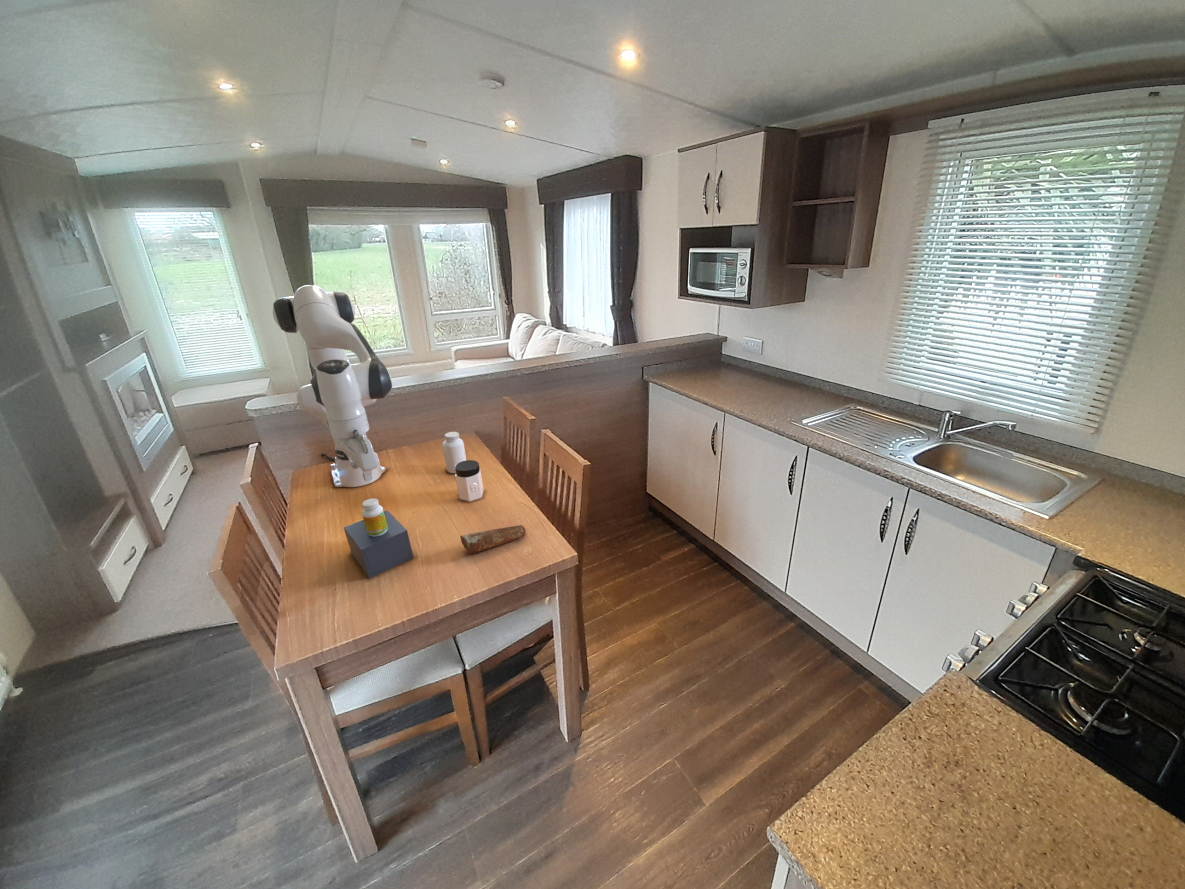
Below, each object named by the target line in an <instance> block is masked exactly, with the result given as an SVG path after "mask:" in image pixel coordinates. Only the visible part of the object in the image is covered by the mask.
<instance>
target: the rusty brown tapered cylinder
mask: <svg viewBox="0 0 1185 889" xmlns="http://www.w3.org/2000/svg"><path fill="white" fill-rule="evenodd" d="M526 535H527V530H526V528H525V527H524V525H522V524H519V525H513V526H507V527H501V528H500V527H499V528H495V529H489V530H481V531H477V532H471V533H467V534H462V535H460V542H461V544H462V545H463V548H464V549H465V550H466V552H467V554H471V555H472V554H475V553H480V552H483V551H486V550H489V549H492V548H494V547H498V546H502V545H504V544H507V543H510V542H512V541H515V540H518V539H520V538H523V537H525V536H526Z"/></svg>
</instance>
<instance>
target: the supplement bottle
mask: <svg viewBox="0 0 1185 889" xmlns="http://www.w3.org/2000/svg"><path fill="white" fill-rule="evenodd" d="M362 508H363V509H362V511H361V515H362V520H364V523H365V527H366V530H367V533H368V535H369V536H372V537H376V536H380V535H382V534H384V533H386V532H387V530H388V526H387V522H386V518H385V514H384V511H385V510H384V508H383V505H380V503H379V499H377V498H372V497H371V498H368V499H366V500H364V501H363V502H362Z"/></svg>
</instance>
